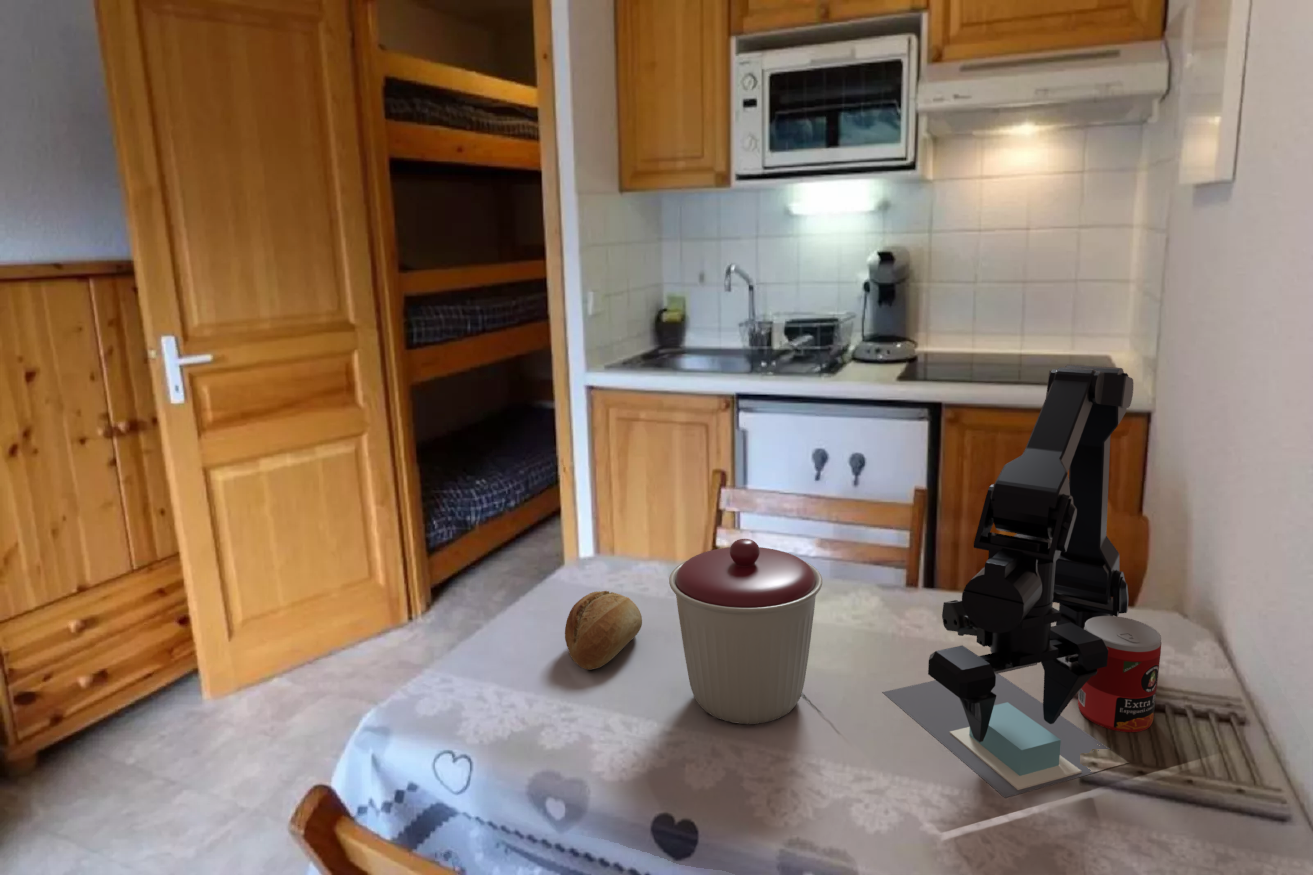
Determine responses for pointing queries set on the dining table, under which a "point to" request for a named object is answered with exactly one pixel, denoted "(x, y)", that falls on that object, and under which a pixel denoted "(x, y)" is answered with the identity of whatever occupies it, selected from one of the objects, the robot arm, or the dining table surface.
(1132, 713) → the canned food
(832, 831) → the dining table surface
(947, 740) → the mat
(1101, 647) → the robot arm
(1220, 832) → the dining table surface
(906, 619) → the dining table surface
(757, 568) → the canister
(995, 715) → the block
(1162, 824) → the dining table surface
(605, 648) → the bread roll
